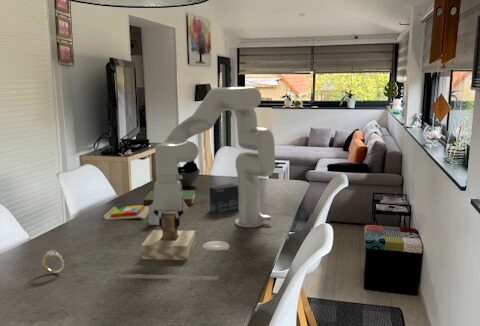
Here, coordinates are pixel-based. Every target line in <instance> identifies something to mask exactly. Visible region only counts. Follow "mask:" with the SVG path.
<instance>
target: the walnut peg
mask: <svg viewBox="0 0 480 326" xmlns="http://www.w3.org/2000/svg"><path fill="white" fill-rule="evenodd" d="M174 219H175V213H174V211H165V212H164V213H163V214H162V229H161V230H162V235H163V240H165V241H176V240H177V238H178V235H177V230H178V228H177V229H175V221H174Z"/></svg>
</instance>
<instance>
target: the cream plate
mask: <svg viewBox="0 0 480 326" xmlns="http://www.w3.org/2000/svg"><path fill="white" fill-rule="evenodd" d="M202 248H203V250H206V251H211V252H212V251H213V252H216V251H217V252H219V251H223V250H224V252H228V250H230V244H229V243H228V242H226V241H222V240H212V241H207V242H205V243H203V244H202Z"/></svg>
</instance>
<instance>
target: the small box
mask: <svg viewBox="0 0 480 326" xmlns="http://www.w3.org/2000/svg"><path fill="white" fill-rule="evenodd" d="M209 202H210V203H209V206H210V208H209V209H210V212H212V213H215V214H221V213H227V212H232V211H237V210H238V211H239V206H238V184H235V183H231V182H230V183H227V184H220V185H214V186H209Z"/></svg>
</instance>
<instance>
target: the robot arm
mask: <svg viewBox="0 0 480 326" xmlns="http://www.w3.org/2000/svg"><path fill="white" fill-rule="evenodd" d="M261 101H262V93H261V92H260V90H259V89H258V88H256V87H255V86H229V87H214V88H212V89H210V90H209V91H208V92H207V94H206V95H205V97H204V98H203V100H202V101H201V102H200V104H199V106H198V107H197V108H196V110H195V111H194V113H193V114H192V115H190V116H189V117H188V118H186V119H185V120H183V121H182V122H181V123H179V124H177V125H176V126H175V127H174V128H173V129H172V130H171V132H170V133H169V134H168V135H167V137H166V139H165V140H164V142H161V143H158V144H156V145H155V146H154V156H155V172H156V173H155V177H156V179H155V180H156V181H155V182H154V187H153V191H154V201H153V203H152V204H151V206H150V207H149V210H150V211H152V212H154V214H155V215H156V216H158V218H159V225H158V226H159V227H160V230H162V214H163V211H164V210H165V211H173V212H174V213H175V219H174V221H175V229H177V230H178V228H179V227H180V223H181V222H180V220H181V219H180V218H181V216H182V215H183V214H184V213H186V212H187V211H189V208H190V207H189V205H186V203H185V202H184V200H183V191H184V190H183V187H182V185H181V182H180V181H178V180H179V179H182V175H179V174H178V167H179V166H178V164H179V163H186V162H191V161H193V160H194V161H195V160H196V159H197V158H198V155H199V153H200V152H199V147H198V146H197V144H196V143H194V142H193V141H188V140H189V139H190V138H192V137H193V136H196V135H199V134H202V133H205V132H206V131H209V130H212V128H213V126H215V124H216V122H217V120H218V118H219V117H220V116H221V114H222V113H223V112H224V111H233V113H234V115H235V119H236V130H237V131H236V132H237V133H236V134H237V143H238V145H239V147H240V148H241V149H244V150H248V151H243V152H241V153H239V154H238V155H237V156H236V157H235V169H236V173H237V185H238V206H239V209H238V218H236V219H235V220H234V224H235V225H236V226H237V227H241V228H246V229H247V228H248V229H252V228H253V229H254V228H258V227H261V226H263V225H264V224H265V221H271V220H272V219H271V218H272V216H270V215H268V214H262V211H261V181H260V179H259V177H262V178H263V177H264V178H268V177H270V176H272V175H273V173H274V171H275V168H276V167H275V166H276V152H275V151H276V150H275V146H276V145H275V138H274V134H273V132H272V131H271V129H269V128H266V127H258V120H257V118H258V117H257V112H256V110H255V109H256V108H258V107H259V106H260V104H261ZM249 150H252V151H249ZM254 151H257V152H254ZM177 163H178V164H177ZM158 210H159V211H158Z"/></svg>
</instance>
